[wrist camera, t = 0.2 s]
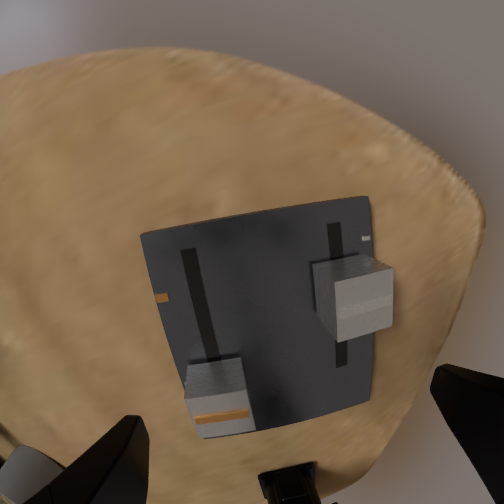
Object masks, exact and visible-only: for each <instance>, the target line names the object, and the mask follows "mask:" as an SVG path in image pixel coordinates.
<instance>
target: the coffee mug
mask: <svg viewBox="0 0 504 504" xmlns="http://www.w3.org/2000/svg"><path fill="white" fill-rule="evenodd" d="M62 471H64V470H63V469H62V468H61V467H60V466H59V465H58V464H56V463H55V462H54V461H52V460H51V459H50V458H49V457H47V456H46V455H44V454H43V453H41V452H39V451H38V450H36V449H34V448H31V447H29V446H25V445H18V446H17V447H16V448H15V449H14V451H13V452H12V454H11V455H10V456H9V458H8V459H7V460H6V462H5V463H4V465H3V466H2V467H1V469H0V504H22V503H24V502H25V501H27V500H28V499H29V498H31V497H32V496H33V495H35V494H36V493H37V492H38V491H40V490H41V489H42V488H43V487H45V486H46V485H47V484H49V483H50V482H51V481H52V480H53V479H54V478H55V477H57V476H58V475H59V474H60V473H61V472H62Z"/></svg>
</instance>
